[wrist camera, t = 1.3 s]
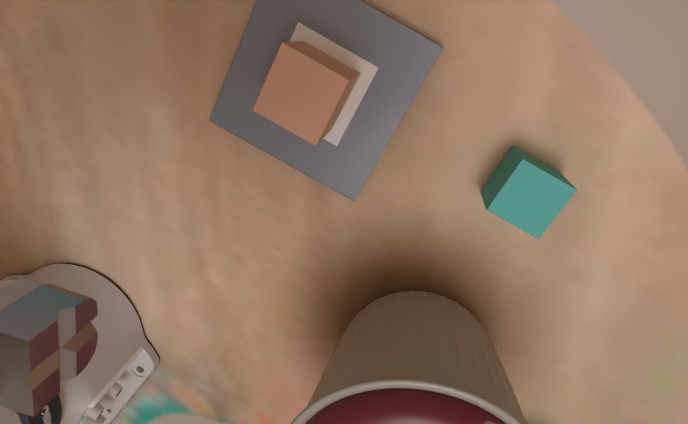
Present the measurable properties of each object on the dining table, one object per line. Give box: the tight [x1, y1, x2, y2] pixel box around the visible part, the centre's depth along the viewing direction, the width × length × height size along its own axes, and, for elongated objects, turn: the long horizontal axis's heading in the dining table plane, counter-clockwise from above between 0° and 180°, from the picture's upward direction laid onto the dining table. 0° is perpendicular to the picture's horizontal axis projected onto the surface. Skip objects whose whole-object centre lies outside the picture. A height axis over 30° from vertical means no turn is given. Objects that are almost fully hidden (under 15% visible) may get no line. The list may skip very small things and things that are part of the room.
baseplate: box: [209, 0, 443, 201], centre depth 38 cm, size 14×14×1 cm
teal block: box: [481, 146, 577, 239], centre depth 37 cm, size 4×4×4 cm
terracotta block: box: [253, 41, 361, 146], centre depth 35 cm, size 5×5×6 cm
